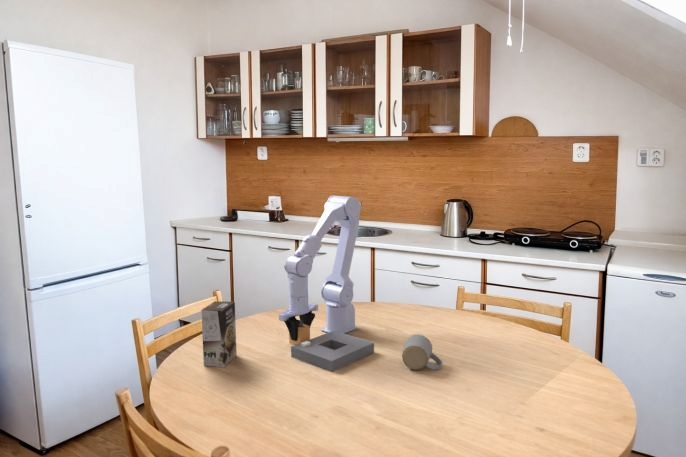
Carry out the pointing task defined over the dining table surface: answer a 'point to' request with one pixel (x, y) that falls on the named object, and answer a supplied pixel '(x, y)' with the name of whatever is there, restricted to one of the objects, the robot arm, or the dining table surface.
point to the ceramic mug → (419, 353)
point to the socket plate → (332, 350)
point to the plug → (301, 334)
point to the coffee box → (219, 333)
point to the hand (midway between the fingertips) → (299, 338)
